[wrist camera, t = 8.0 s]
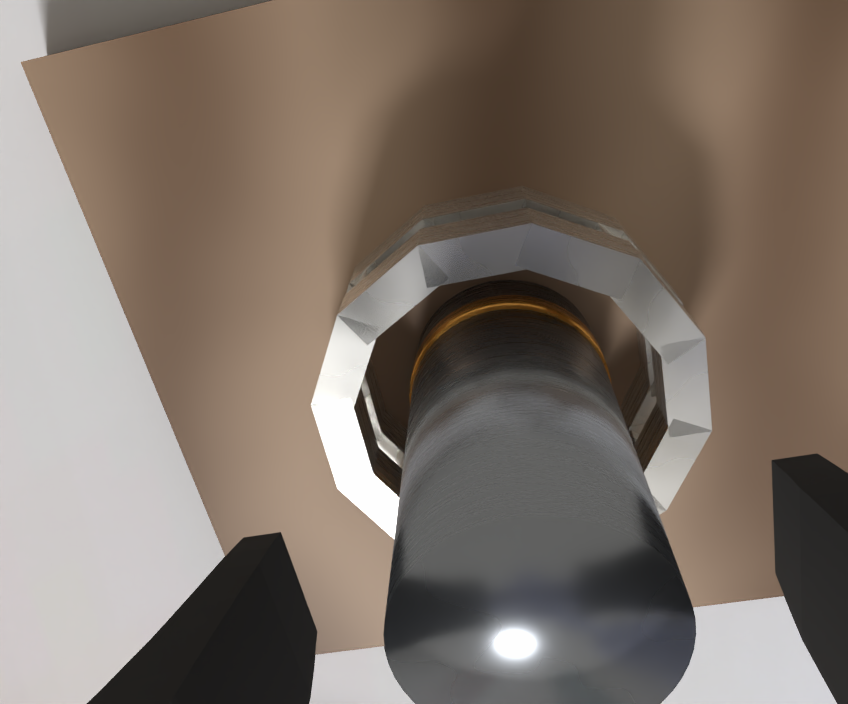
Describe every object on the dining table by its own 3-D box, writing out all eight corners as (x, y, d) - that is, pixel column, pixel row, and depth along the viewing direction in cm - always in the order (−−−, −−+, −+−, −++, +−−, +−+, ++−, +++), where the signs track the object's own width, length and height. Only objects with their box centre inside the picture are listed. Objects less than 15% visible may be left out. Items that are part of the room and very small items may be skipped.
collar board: (873, -147, 14) (903, -155, 13) (856, 557, 20) (875, 584, 19) (45, 57, 16) (20, 61, 15) (276, 633, 22) (268, 660, 22)
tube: (598, 268, 16) (707, 503, 9) (600, 436, 18) (693, 744, 11) (402, 286, 17) (358, 524, 9) (424, 448, 18) (400, 754, 11)
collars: (660, 157, 15) (695, 191, 13) (687, 469, 18) (720, 542, 16) (297, 231, 16) (269, 274, 14) (381, 515, 19) (370, 589, 17)
